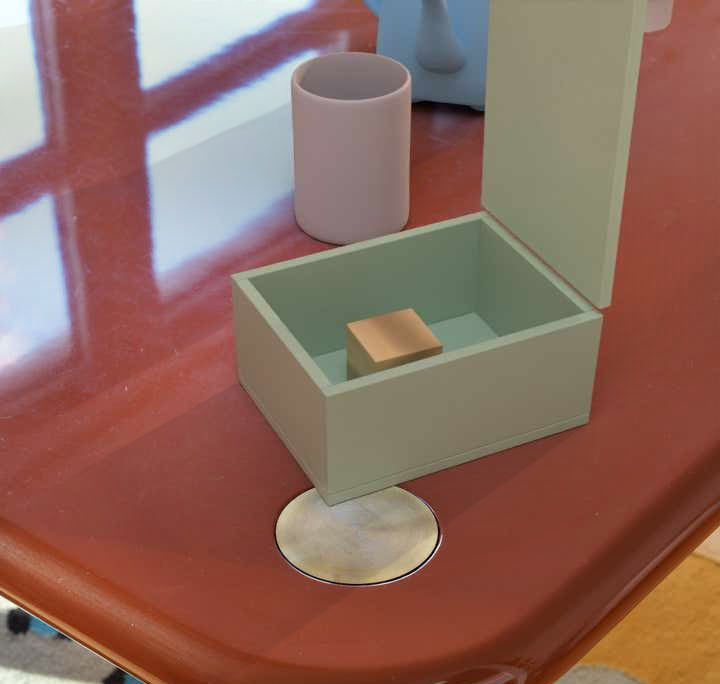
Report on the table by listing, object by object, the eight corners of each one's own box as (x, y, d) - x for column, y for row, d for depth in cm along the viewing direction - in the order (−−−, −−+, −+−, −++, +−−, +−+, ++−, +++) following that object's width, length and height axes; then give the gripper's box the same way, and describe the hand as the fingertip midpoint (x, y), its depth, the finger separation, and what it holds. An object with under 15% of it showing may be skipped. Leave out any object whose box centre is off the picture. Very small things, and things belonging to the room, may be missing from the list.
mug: (425, 235, 100) (430, 92, 92) (314, 255, 98) (310, 109, 90) (372, 163, 108) (373, 26, 101) (269, 179, 106) (262, 41, 99)
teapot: (332, 64, 122) (329, -94, 113) (494, 34, 127) (504, -120, 118) (419, 150, 110) (423, -19, 101) (595, 113, 115) (614, -51, 106)
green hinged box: (328, 506, 78) (326, 396, 72) (238, 380, 87) (229, 274, 81) (589, 423, 83) (604, 315, 78) (478, 313, 92) (485, 209, 87)
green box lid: (636, -15, 65) (722, -35, 67) (493, -99, 74) (571, -114, 76) (599, 310, 78) (671, 287, 79) (480, 205, 87) (547, 186, 88)
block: (375, 422, 82) (375, 361, 79) (346, 382, 85) (345, 323, 82) (440, 404, 83) (443, 344, 80) (410, 366, 86) (411, 307, 83)
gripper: (472, -326, 70) (462, -49, 79) (717, -237, 56) (670, 85, 65) (576, -339, 72) (555, -67, 81) (837, -256, 58) (775, 60, 67)
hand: (608, 2), depth 73 cm, fingers closed on green box lid, 6 cm apart
